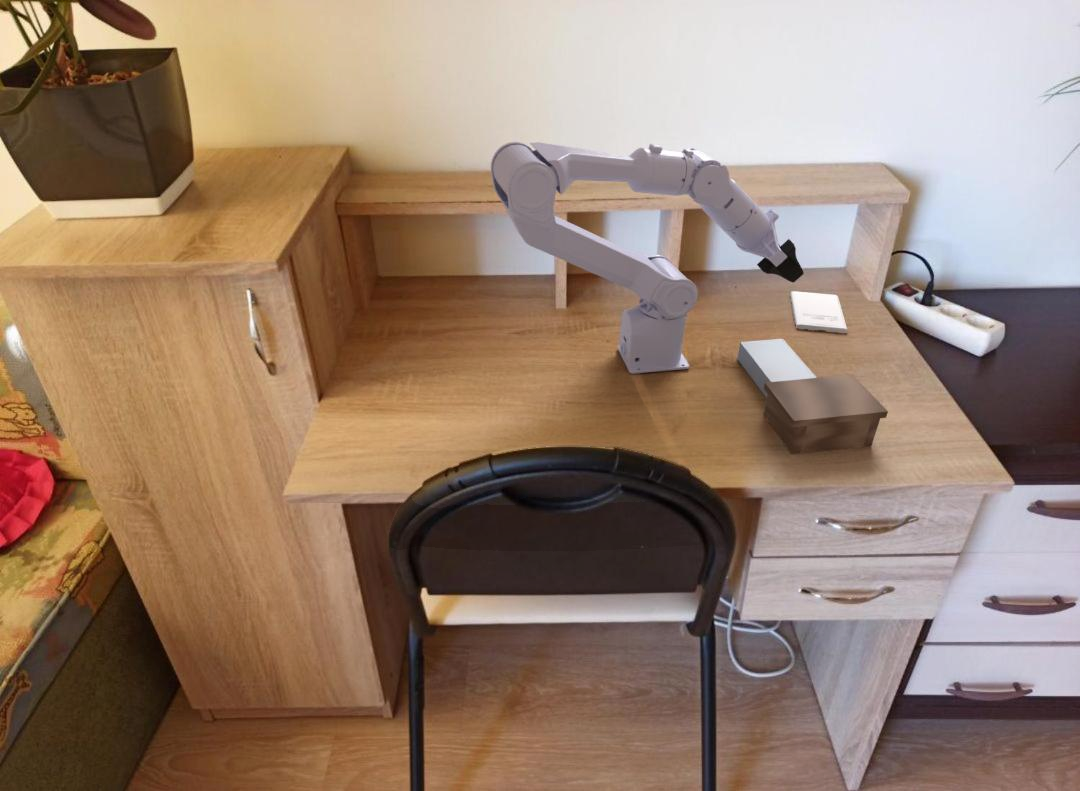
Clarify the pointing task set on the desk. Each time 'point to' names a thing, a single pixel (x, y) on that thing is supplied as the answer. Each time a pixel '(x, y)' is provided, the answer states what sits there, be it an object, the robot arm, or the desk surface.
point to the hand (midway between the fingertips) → (786, 264)
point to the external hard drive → (818, 312)
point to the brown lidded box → (822, 413)
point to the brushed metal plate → (771, 362)
